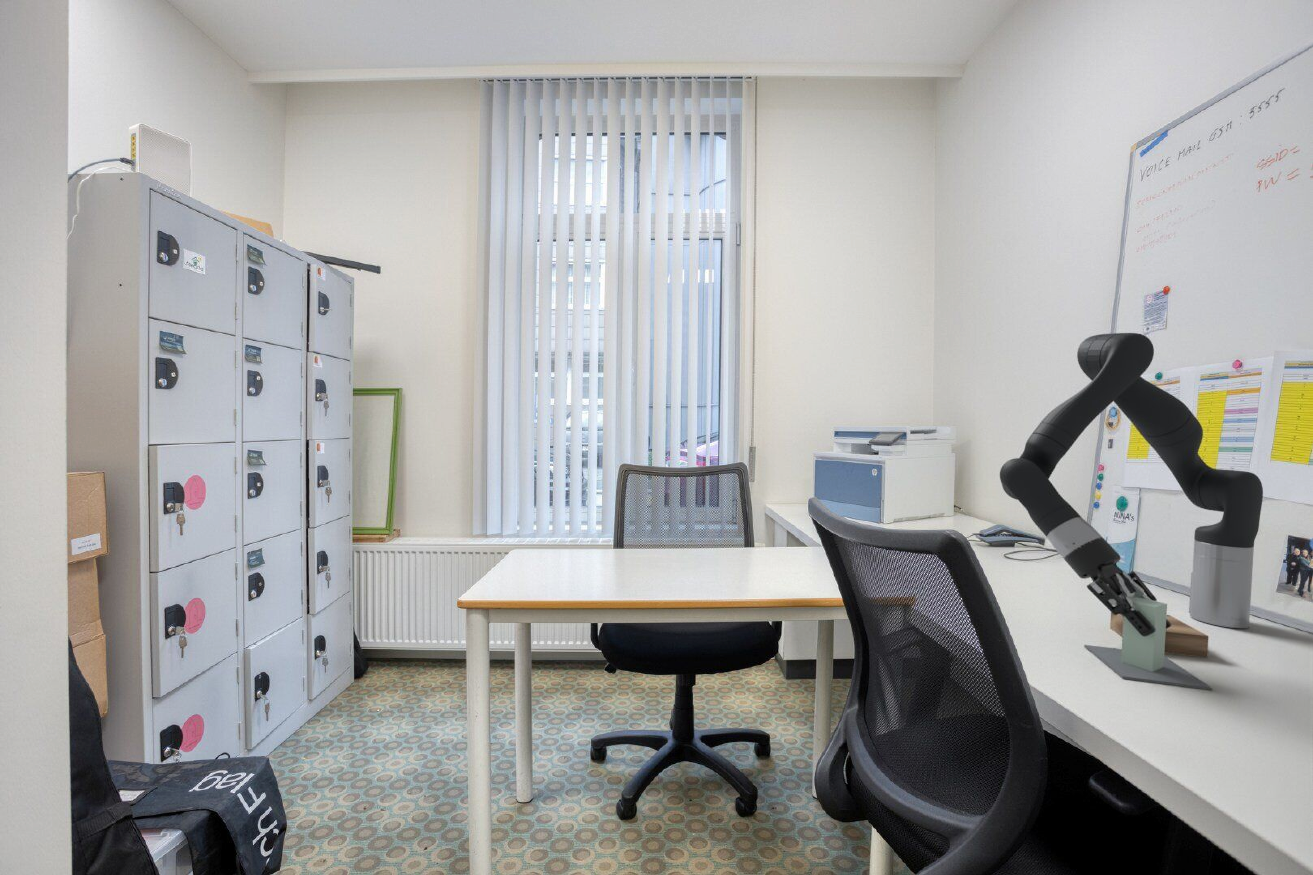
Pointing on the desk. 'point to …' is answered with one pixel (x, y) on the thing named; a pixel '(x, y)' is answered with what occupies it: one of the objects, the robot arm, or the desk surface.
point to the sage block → (1145, 648)
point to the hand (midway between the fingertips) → (1157, 630)
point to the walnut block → (1174, 637)
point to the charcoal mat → (1164, 675)
